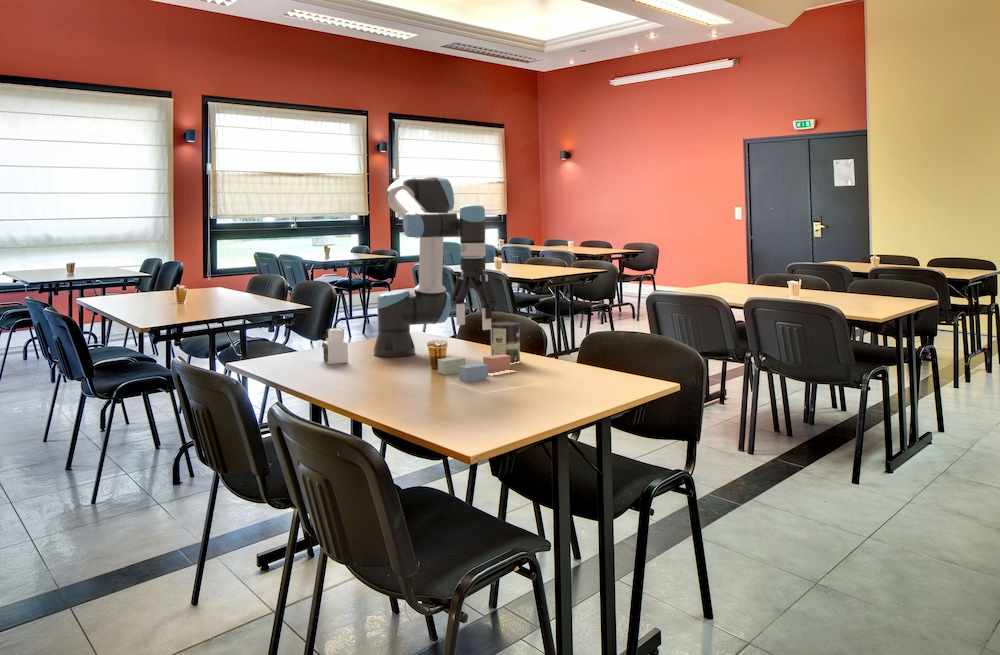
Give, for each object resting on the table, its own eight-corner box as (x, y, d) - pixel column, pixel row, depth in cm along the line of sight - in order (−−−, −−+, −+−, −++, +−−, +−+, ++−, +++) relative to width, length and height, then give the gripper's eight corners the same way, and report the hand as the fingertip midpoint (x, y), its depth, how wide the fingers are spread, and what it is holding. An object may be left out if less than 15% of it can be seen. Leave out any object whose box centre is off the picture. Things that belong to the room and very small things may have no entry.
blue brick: (466, 384, 223) (466, 368, 222) (458, 382, 226) (458, 366, 225) (487, 380, 228) (487, 365, 227) (480, 378, 231) (480, 363, 230)
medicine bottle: (323, 361, 259) (322, 327, 258) (343, 359, 262) (342, 326, 261) (327, 364, 253) (326, 330, 251) (348, 362, 256) (347, 328, 254)
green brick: (444, 376, 234) (444, 361, 233) (437, 374, 237) (437, 359, 236) (465, 373, 239) (465, 358, 238) (458, 371, 242) (458, 356, 241)
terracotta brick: (490, 374, 234) (490, 358, 234) (483, 372, 238) (483, 356, 237) (510, 370, 239) (510, 355, 238) (502, 368, 242) (502, 354, 242)
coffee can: (520, 360, 259) (520, 321, 257) (520, 366, 249) (520, 325, 247) (490, 360, 260) (490, 321, 257) (489, 366, 249) (489, 325, 247)
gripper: (439, 256, 229) (440, 323, 232) (487, 259, 209) (488, 332, 212) (459, 255, 233) (460, 321, 236) (508, 258, 214) (508, 330, 217)
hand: (473, 327), depth 224 cm, fingers open, 13 cm apart
